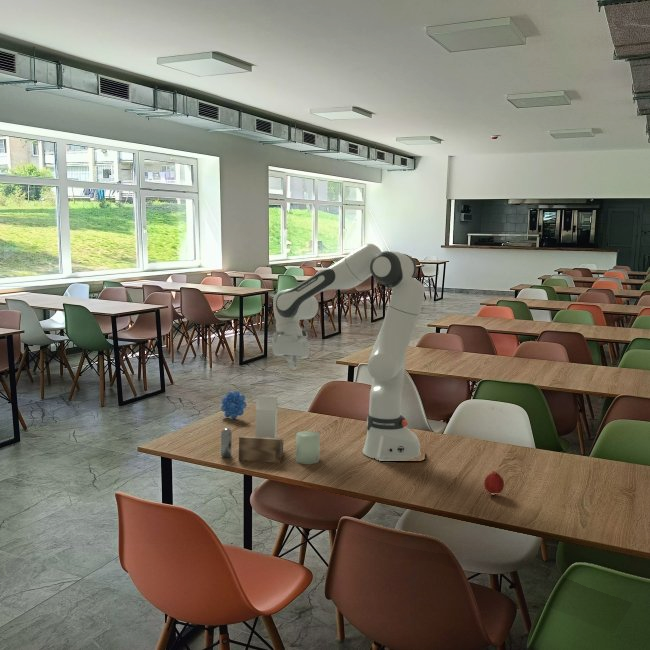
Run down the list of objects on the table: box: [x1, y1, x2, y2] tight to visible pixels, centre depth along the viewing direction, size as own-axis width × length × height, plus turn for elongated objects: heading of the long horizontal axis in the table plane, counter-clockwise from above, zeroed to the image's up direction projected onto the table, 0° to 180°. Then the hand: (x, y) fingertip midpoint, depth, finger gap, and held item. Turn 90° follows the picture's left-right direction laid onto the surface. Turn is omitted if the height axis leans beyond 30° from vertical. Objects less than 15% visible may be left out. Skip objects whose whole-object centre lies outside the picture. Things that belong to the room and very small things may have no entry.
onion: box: [483, 470, 505, 494], centre depth 196 cm, size 6×6×8 cm
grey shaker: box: [220, 427, 233, 459], centre depth 221 cm, size 4×4×10 cm
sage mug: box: [295, 430, 321, 465], centre depth 221 cm, size 8×11×9 cm
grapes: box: [220, 390, 248, 420], centre depth 264 cm, size 12×7×12 cm, turn 69°
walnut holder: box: [238, 435, 285, 463], centre depth 221 cm, size 14×9×8 cm, turn 86°
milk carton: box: [254, 395, 278, 438], centre depth 230 cm, size 7×7×19 cm
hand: (293, 368), depth 241 cm, fingers closed
